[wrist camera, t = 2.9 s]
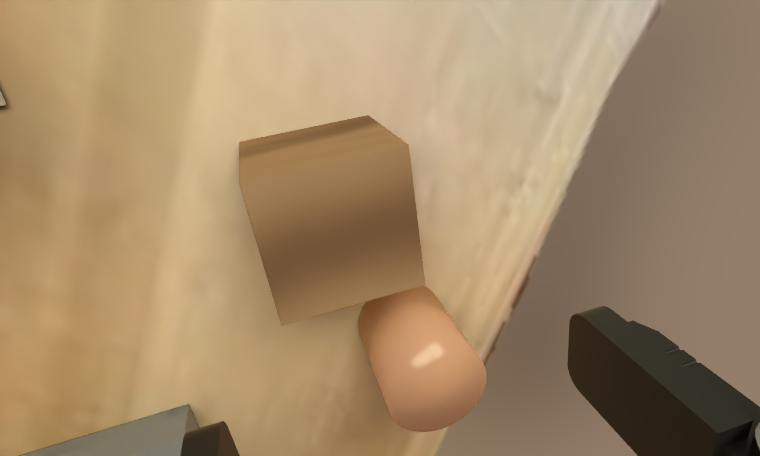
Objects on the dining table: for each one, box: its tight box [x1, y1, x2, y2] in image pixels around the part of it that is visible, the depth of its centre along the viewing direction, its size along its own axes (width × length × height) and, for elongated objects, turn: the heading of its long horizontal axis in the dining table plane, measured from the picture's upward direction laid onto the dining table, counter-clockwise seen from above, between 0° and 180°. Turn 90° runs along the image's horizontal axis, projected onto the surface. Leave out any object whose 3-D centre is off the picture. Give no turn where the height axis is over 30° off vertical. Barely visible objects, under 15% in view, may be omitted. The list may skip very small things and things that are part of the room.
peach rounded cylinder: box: [358, 285, 487, 432], centre depth 24 cm, size 5×5×6 cm
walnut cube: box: [239, 116, 425, 325], centre depth 20 cm, size 6×6×6 cm
